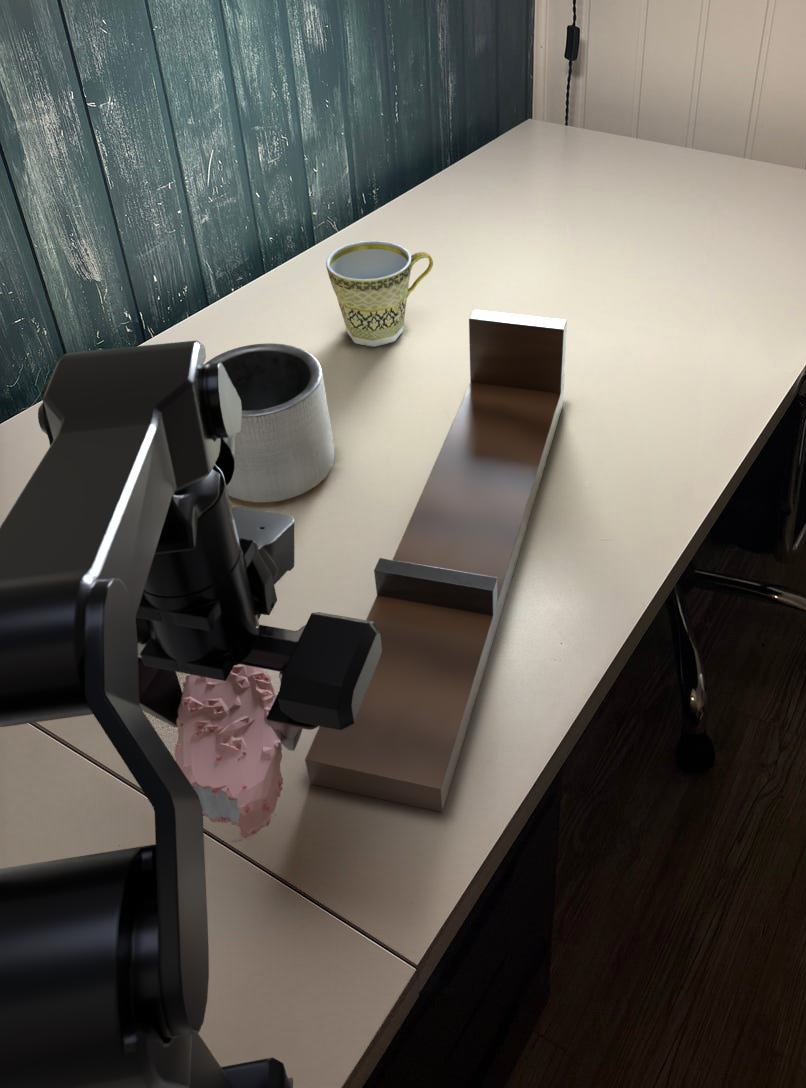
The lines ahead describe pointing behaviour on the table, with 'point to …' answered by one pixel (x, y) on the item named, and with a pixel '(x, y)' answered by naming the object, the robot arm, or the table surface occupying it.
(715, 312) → the table surface
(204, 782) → the ice cream bar
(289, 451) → the planter
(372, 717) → the shelf
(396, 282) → the ceramic cup
